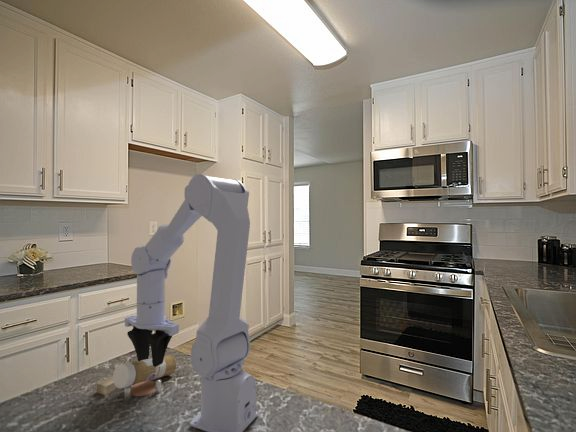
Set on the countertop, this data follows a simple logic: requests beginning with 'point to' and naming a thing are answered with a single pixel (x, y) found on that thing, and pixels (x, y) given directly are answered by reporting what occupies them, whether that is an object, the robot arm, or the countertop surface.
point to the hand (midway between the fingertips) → (150, 362)
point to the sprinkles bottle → (142, 371)
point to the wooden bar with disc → (136, 390)
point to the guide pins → (128, 389)
